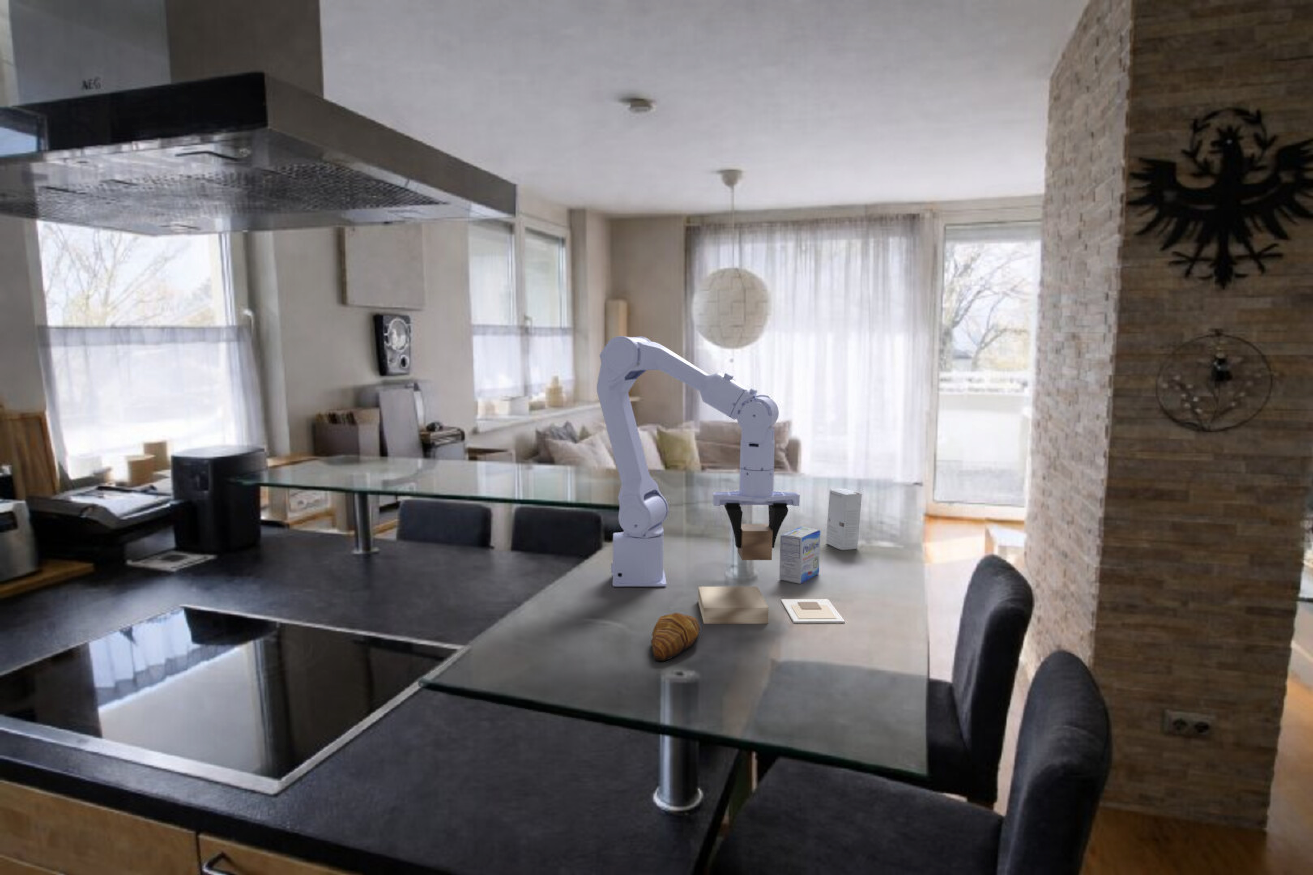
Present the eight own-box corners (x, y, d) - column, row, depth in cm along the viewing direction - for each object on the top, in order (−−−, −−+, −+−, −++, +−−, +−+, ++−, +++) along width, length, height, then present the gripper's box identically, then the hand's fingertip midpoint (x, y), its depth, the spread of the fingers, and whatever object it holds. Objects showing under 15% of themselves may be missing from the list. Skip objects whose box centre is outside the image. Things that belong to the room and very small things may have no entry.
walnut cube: (742, 560, 126) (742, 531, 126) (737, 551, 131) (738, 523, 131) (771, 560, 127) (772, 531, 126) (766, 551, 132) (766, 523, 131)
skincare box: (825, 543, 163) (827, 488, 162) (842, 541, 165) (844, 487, 163) (842, 551, 158) (844, 494, 156) (859, 549, 159) (862, 492, 158)
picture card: (793, 623, 117) (793, 620, 117) (780, 600, 127) (781, 598, 127) (844, 622, 117) (844, 619, 117) (828, 600, 127) (828, 598, 127)
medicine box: (800, 585, 136) (802, 538, 134) (778, 580, 138) (779, 534, 137) (819, 574, 142) (821, 529, 141) (798, 569, 144) (799, 525, 143)
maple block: (703, 626, 117) (704, 607, 116) (698, 603, 126) (698, 586, 126) (767, 626, 117) (768, 607, 117) (757, 603, 127) (757, 586, 126)
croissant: (671, 626, 116) (671, 594, 115) (713, 633, 113) (713, 601, 113) (634, 660, 104) (634, 625, 103) (680, 669, 101) (681, 633, 100)
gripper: (716, 471, 123) (715, 553, 124) (805, 472, 123) (802, 552, 125) (711, 464, 130) (710, 541, 131) (795, 465, 130) (792, 541, 132)
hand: (754, 546), depth 129 cm, fingers closed on walnut cube, 5 cm apart
